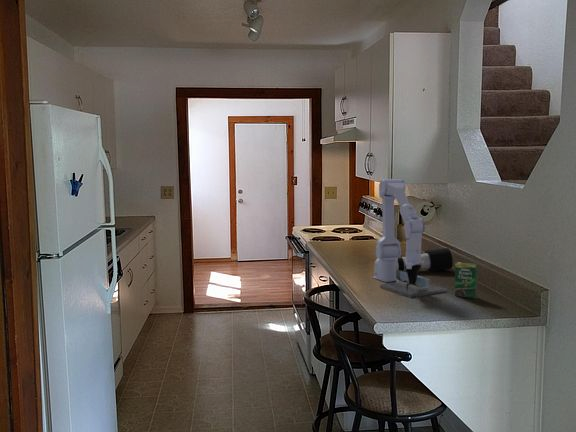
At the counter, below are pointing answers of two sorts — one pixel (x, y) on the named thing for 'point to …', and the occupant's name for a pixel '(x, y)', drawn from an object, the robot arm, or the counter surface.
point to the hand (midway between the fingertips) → (412, 283)
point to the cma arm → (404, 276)
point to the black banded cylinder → (431, 260)
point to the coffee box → (465, 280)
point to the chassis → (412, 288)
